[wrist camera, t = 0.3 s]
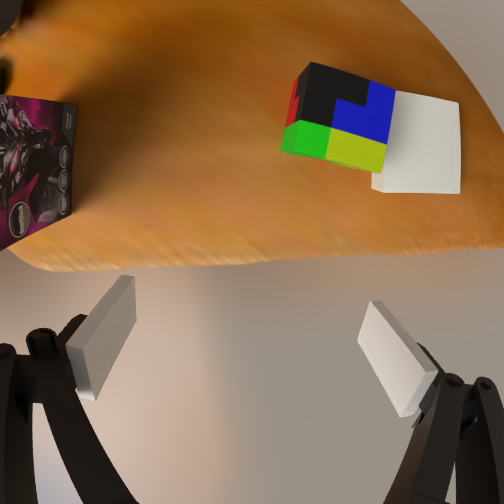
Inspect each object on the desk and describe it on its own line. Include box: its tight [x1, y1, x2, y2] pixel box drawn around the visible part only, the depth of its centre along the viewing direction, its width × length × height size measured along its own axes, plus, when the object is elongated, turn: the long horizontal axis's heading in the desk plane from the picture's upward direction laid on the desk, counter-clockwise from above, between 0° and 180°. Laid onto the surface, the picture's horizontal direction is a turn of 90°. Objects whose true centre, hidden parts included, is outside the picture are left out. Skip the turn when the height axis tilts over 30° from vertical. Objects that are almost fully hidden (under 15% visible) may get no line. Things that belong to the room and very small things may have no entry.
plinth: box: [372, 91, 461, 194], centre depth 37 cm, size 14×14×4 cm
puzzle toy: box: [281, 62, 396, 174], centre depth 33 cm, size 10×10×10 cm
